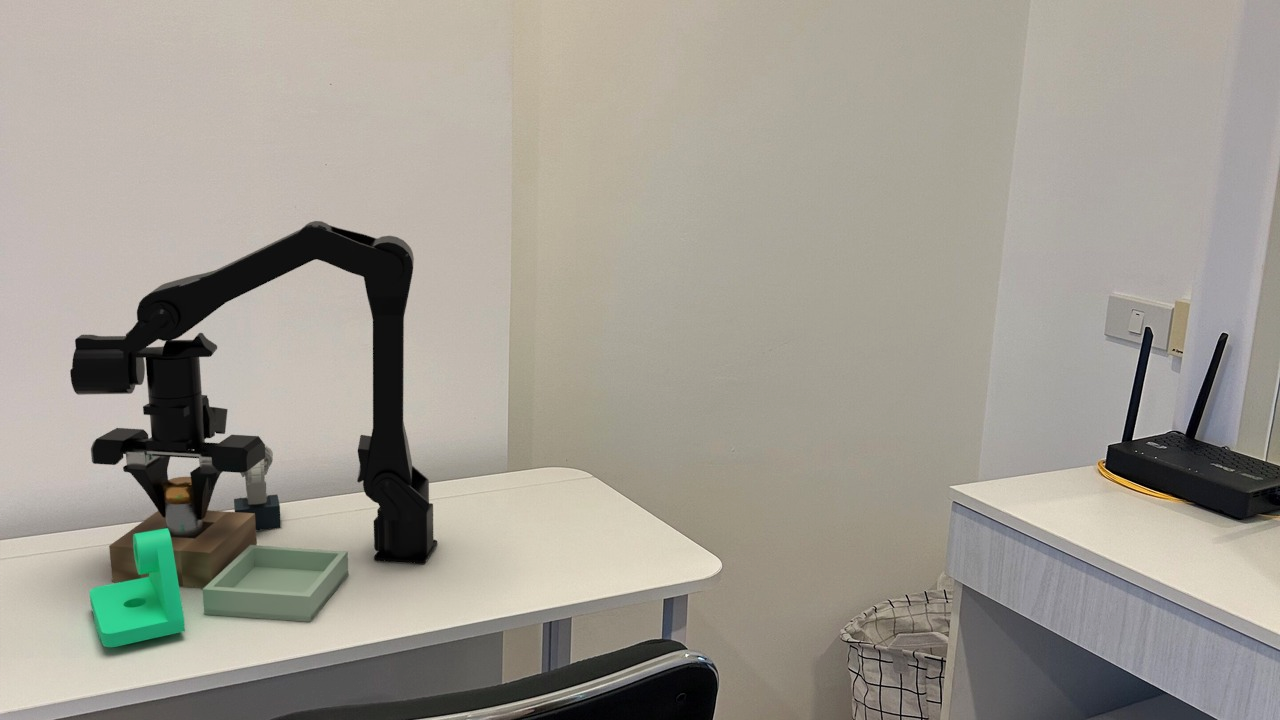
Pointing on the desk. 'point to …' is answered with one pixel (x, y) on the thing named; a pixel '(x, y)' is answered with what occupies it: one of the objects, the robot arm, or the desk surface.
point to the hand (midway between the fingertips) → (184, 517)
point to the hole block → (191, 548)
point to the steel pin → (181, 509)
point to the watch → (260, 496)
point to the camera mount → (141, 596)
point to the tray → (276, 583)
